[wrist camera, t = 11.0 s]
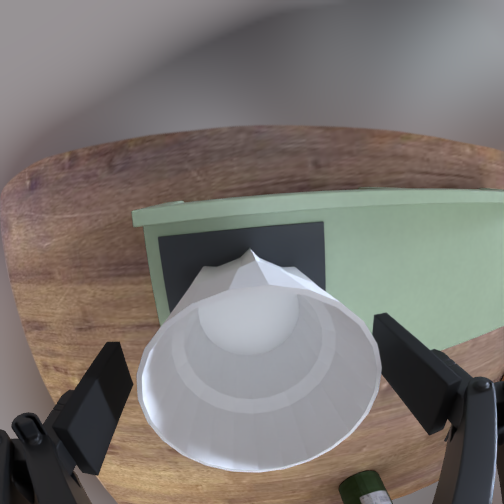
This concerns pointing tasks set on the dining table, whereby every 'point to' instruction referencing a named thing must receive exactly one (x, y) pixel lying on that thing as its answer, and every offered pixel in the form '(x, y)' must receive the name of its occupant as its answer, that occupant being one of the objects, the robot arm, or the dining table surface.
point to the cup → (257, 369)
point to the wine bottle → (364, 489)
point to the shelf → (350, 251)
